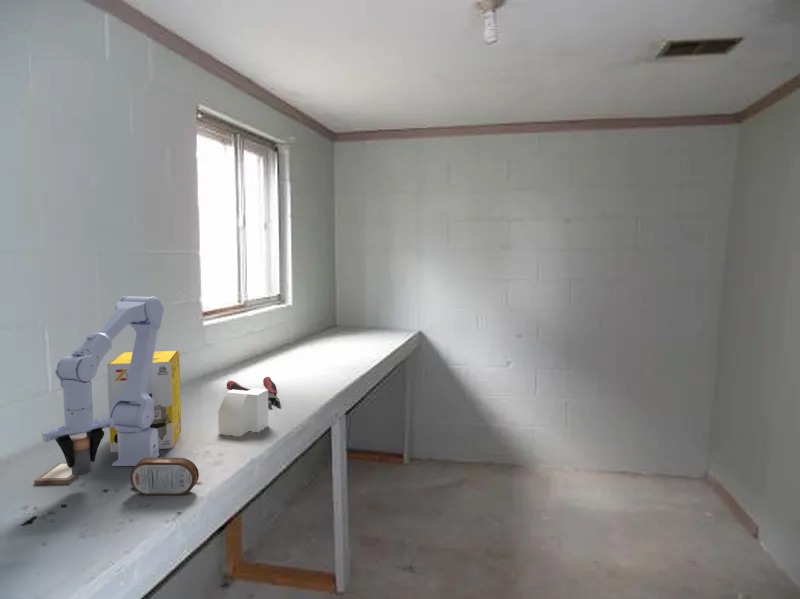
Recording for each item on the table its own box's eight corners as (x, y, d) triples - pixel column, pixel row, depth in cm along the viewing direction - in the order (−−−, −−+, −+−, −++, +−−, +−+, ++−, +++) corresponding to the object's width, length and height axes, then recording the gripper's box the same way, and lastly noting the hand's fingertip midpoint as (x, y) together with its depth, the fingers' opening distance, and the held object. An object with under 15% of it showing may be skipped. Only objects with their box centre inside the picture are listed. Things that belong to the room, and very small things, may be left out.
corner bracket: (268, 426, 177) (268, 389, 176) (249, 438, 166) (249, 399, 165) (239, 423, 180) (238, 386, 178) (218, 434, 169) (217, 396, 168)
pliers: (299, 407, 200) (299, 398, 200) (250, 414, 192) (250, 404, 191) (269, 383, 233) (269, 375, 232) (226, 388, 224) (226, 380, 224)
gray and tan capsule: (94, 468, 132) (93, 435, 131) (86, 475, 128) (84, 441, 127) (77, 468, 132) (75, 436, 131) (68, 475, 128) (66, 442, 127)
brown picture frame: (91, 465, 144) (91, 461, 144) (69, 484, 133) (68, 479, 133) (59, 466, 143) (59, 462, 143) (34, 484, 132) (34, 480, 132)
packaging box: (110, 452, 153) (106, 364, 151) (124, 433, 169) (121, 352, 166) (173, 448, 157) (170, 361, 154) (181, 429, 173) (179, 350, 170)
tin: (199, 490, 130) (198, 456, 129) (195, 496, 127) (194, 461, 126) (135, 490, 130) (133, 456, 129) (128, 496, 127) (127, 461, 126)
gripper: (105, 397, 136) (107, 450, 138) (37, 410, 125) (40, 467, 127) (116, 403, 131) (118, 458, 133) (46, 416, 121) (50, 476, 122)
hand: (81, 463), depth 129 cm, fingers closed on gray and tan capsule, 4 cm apart
